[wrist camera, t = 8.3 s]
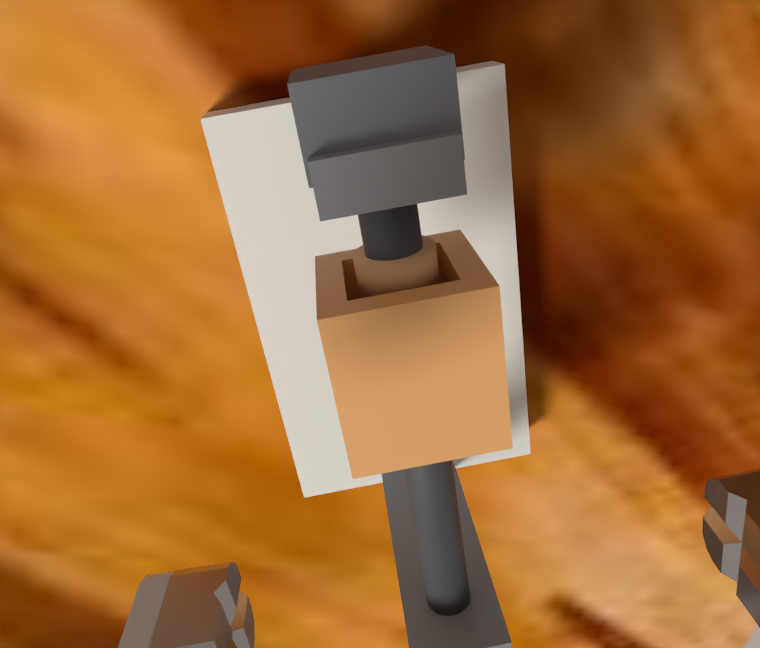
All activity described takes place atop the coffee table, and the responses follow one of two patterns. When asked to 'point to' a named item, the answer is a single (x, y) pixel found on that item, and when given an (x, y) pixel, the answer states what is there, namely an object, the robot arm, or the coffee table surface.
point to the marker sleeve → (416, 362)
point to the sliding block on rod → (379, 277)
